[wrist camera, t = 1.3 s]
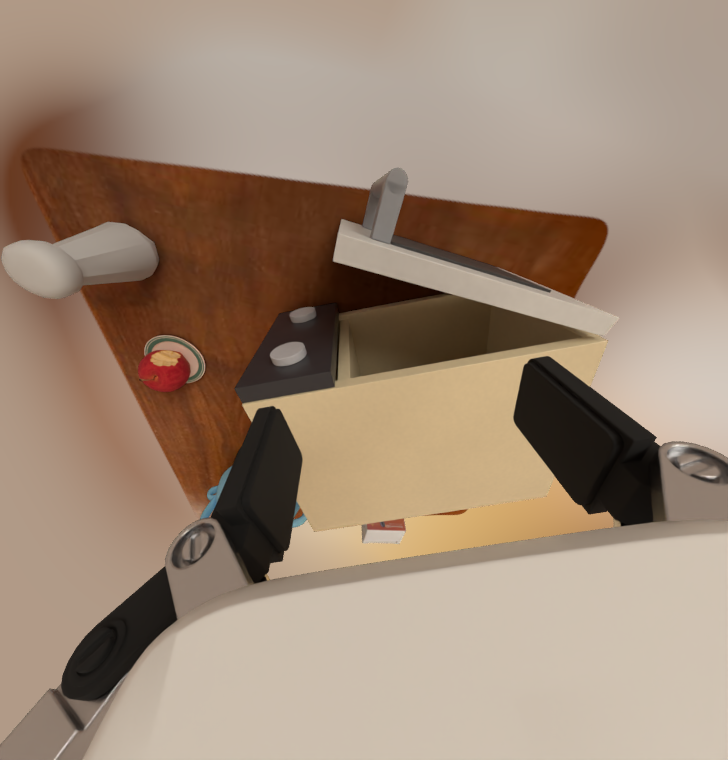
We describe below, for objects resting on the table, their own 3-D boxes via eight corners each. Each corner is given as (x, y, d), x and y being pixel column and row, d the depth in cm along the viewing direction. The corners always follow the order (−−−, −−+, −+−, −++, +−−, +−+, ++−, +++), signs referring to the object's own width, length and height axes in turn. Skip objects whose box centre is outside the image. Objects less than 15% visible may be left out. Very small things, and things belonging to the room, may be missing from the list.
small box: (398, 483, 59) (407, 531, 51) (392, 497, 62) (400, 544, 54) (363, 481, 58) (367, 530, 50) (359, 495, 61) (362, 544, 53)
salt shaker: (158, 224, 29) (52, 236, 19) (173, 277, 33) (89, 313, 22) (101, 217, 29) (-44, 226, 18) (122, 272, 32) (9, 307, 21)
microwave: (277, 307, 35) (228, 382, 21) (500, 264, 34) (620, 311, 19) (323, 432, 49) (314, 532, 34) (483, 405, 48) (546, 497, 33)
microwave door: (349, 174, 28) (355, 141, 13) (521, 233, 32) (669, 258, 17) (338, 234, 31) (332, 261, 16) (496, 281, 35) (604, 336, 20)
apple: (134, 339, 37) (98, 362, 31) (189, 329, 36) (162, 351, 31) (167, 384, 41) (140, 411, 36) (216, 376, 41) (196, 402, 36)
